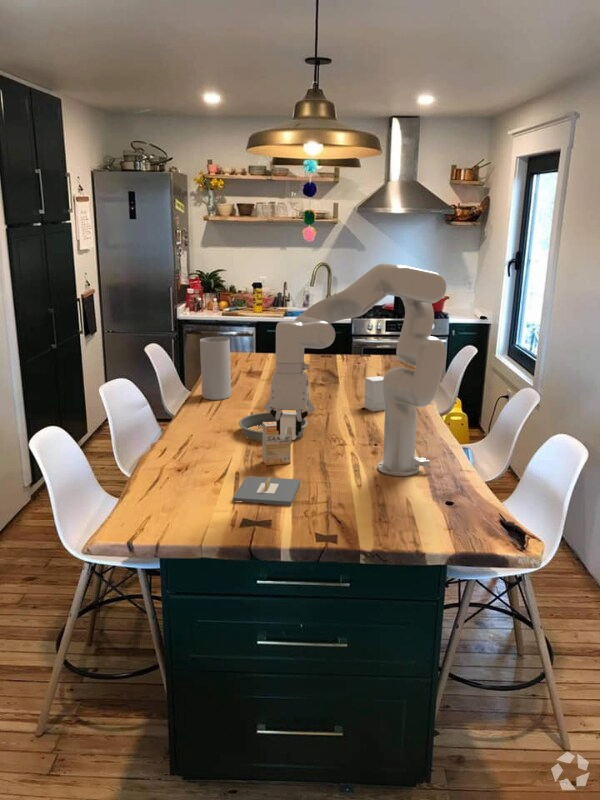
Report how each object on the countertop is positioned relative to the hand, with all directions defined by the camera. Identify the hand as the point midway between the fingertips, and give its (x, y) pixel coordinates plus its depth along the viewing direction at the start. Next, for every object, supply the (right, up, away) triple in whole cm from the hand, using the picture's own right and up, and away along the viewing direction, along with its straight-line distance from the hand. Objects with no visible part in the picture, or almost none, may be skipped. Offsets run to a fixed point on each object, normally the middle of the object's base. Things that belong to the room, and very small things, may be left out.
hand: (289, 433), depth 183 cm
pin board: (-6, -17, +6) cm, 19 cm away
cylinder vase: (-33, +10, +108) cm, 113 cm away
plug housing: (0, -1, 0) cm, 1 cm away
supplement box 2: (+34, +5, +90) cm, 96 cm away
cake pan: (-7, -3, +59) cm, 59 cm away
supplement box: (-4, -11, +29) cm, 31 cm away
